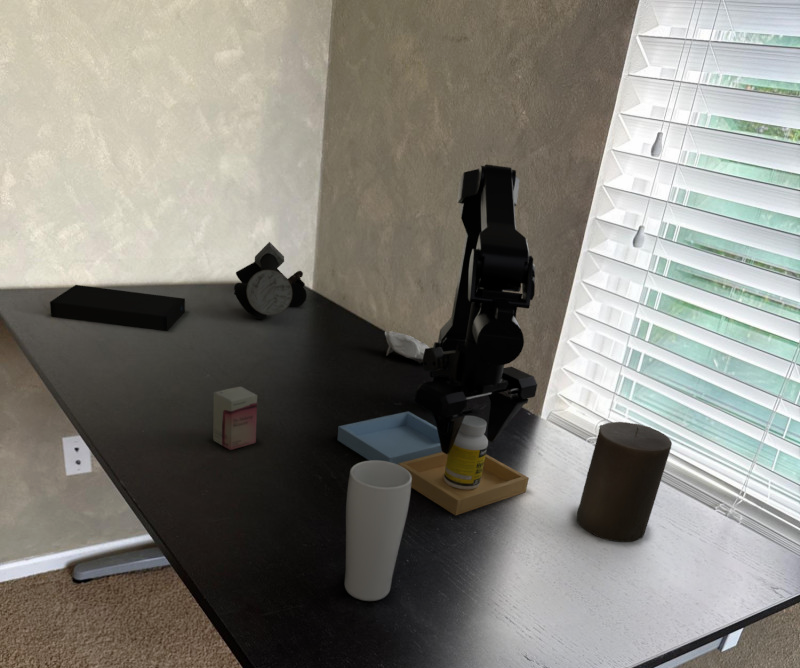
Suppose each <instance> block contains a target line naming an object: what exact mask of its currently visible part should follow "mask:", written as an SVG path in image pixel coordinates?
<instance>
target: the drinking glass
mask: <svg viewBox="0 0 800 668" xmlns="http://www.w3.org/2000/svg"><path fill="white" fill-rule="evenodd" d="M411 483H412V476H411V474H410V472H409V471H408V470H406V469H405V468H404V467H402V466H400V465H397V464H394V463H391V462H386V461H378V460H371V461H369V460H364V461H361V462H358V463H355V464H354V465H353V466H352V467H351V468H350V471H349V476H348V482H347V489H346V500H345V503H346V504H345V572H344V583H343V584H344V589H345V591H346V592H347V593H348V595H350V596H351V597H353V598H354V599H357V600H360V601H363V602H375V601H376V602H377V601H380V600H382V599H385V598H386V597H387V596H388V595H389V594H390V591H391V589H392V582H393V577H394V572H395V568H396V563H397V559H398V555H399V550H400V546H401V542H402V538H403V534H404V530H405V526H406V522H407V518H408V513H409V507H410V502H411V495H412V494H411V493H412V492H411V491H412V487H411Z"/></svg>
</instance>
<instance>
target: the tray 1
mask: <svg viewBox="0 0 800 668" xmlns="http://www.w3.org/2000/svg"><path fill="white" fill-rule="evenodd" d="M337 441H338V442H340V443H341V444H342V445H344V446H345V447H347V448H349V449H351V450H352V451H353V452H355V453H357V454H358V455H360V456H361V457H363V458H365V459H366V460H367V461H371V460H378V461H386V462H391V463H394V464H397V465H398V464H399V463H403V462H406V461H409V460H413V459H417V458H421V457H425V456H428V455H432V454H436V453H440V452H442V450H441V445H440V441H439V436H438V431H437V427H436V425H434V424H432V423H430V422H429V421H427V420H425V419H423V418H421V417H419V416H418V415H416V414H414V413H413V412H411V411H409V410H408V411H404V412H399V413H394V414H389V415H384V416H380V417H376V418H370V419H366V420H361V421H358V422H357V421H356V422H353V423H347V424H343V425H339V426H338V430H337Z"/></svg>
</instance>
